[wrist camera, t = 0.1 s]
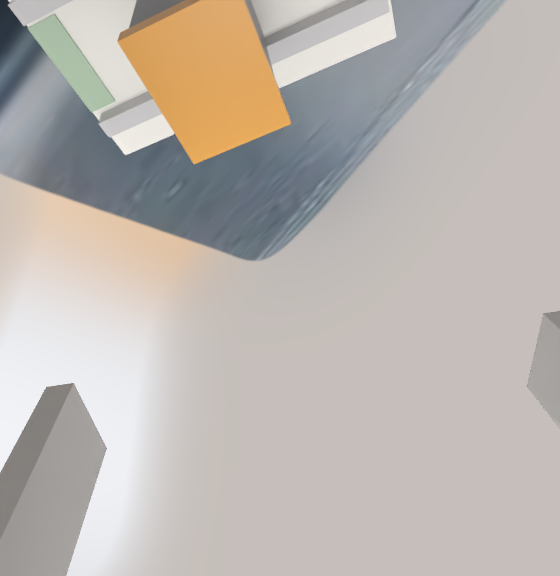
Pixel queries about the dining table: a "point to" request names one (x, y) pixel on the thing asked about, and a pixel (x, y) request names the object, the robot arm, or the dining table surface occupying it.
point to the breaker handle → (206, 71)
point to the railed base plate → (129, 87)
